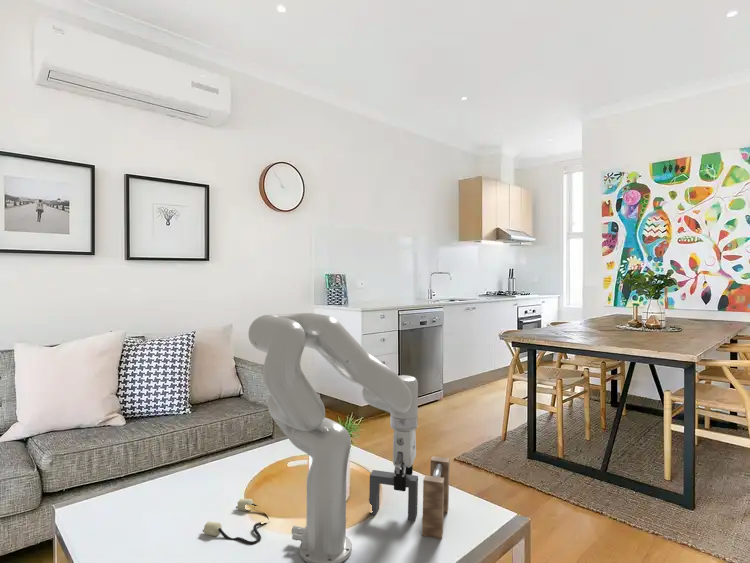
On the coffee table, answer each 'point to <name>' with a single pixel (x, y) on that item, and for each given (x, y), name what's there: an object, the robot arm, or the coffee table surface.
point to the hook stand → (435, 497)
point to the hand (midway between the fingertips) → (403, 481)
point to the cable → (216, 527)
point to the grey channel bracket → (388, 479)
